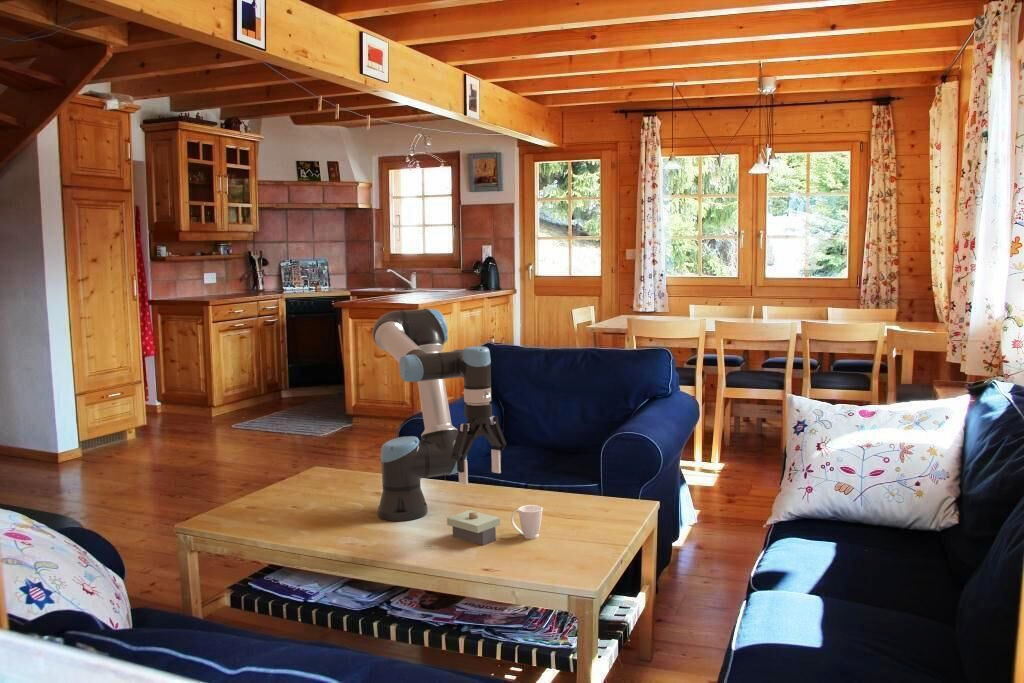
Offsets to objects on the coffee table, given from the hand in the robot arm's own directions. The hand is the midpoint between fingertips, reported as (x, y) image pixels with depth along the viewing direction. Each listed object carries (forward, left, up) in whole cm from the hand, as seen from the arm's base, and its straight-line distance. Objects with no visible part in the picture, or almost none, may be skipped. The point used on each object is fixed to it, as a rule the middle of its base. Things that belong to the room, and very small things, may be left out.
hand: (480, 477), depth 243 cm
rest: (-1, -2, -17) cm, 17 cm away
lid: (-1, -2, -13) cm, 13 cm away
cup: (+9, +9, -17) cm, 22 cm away
